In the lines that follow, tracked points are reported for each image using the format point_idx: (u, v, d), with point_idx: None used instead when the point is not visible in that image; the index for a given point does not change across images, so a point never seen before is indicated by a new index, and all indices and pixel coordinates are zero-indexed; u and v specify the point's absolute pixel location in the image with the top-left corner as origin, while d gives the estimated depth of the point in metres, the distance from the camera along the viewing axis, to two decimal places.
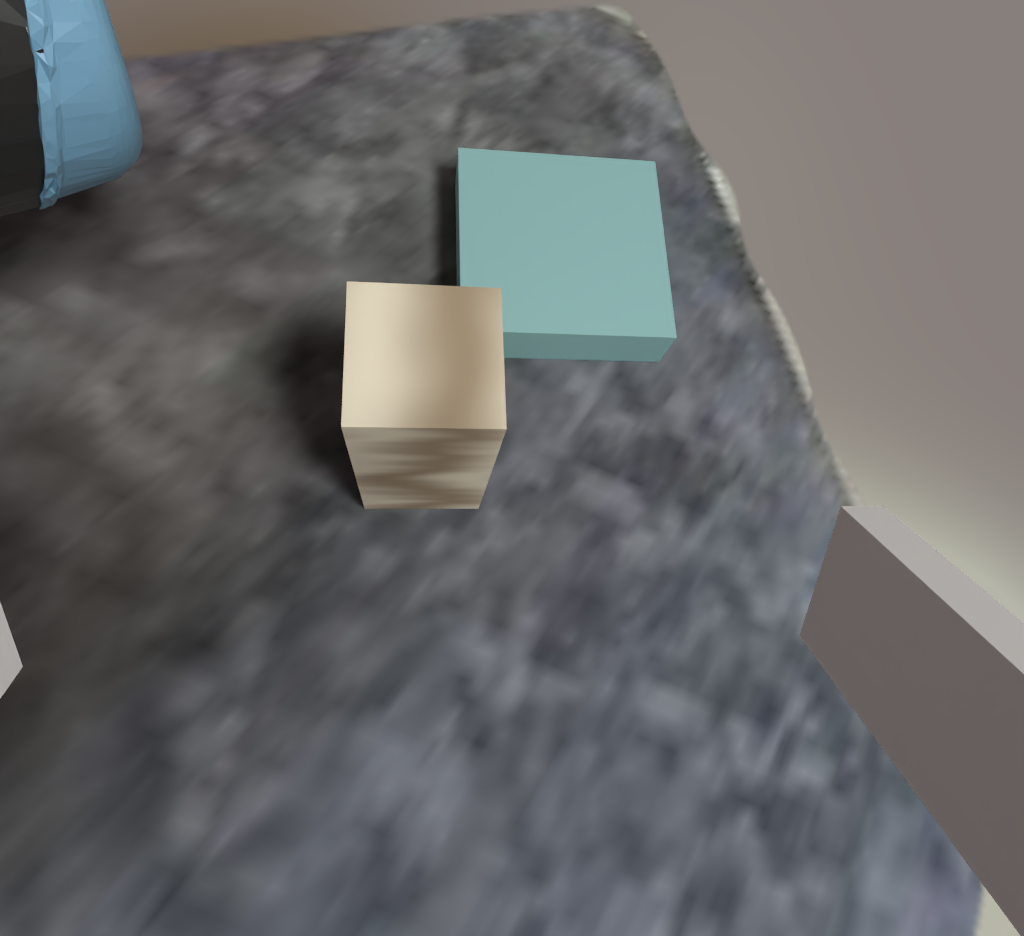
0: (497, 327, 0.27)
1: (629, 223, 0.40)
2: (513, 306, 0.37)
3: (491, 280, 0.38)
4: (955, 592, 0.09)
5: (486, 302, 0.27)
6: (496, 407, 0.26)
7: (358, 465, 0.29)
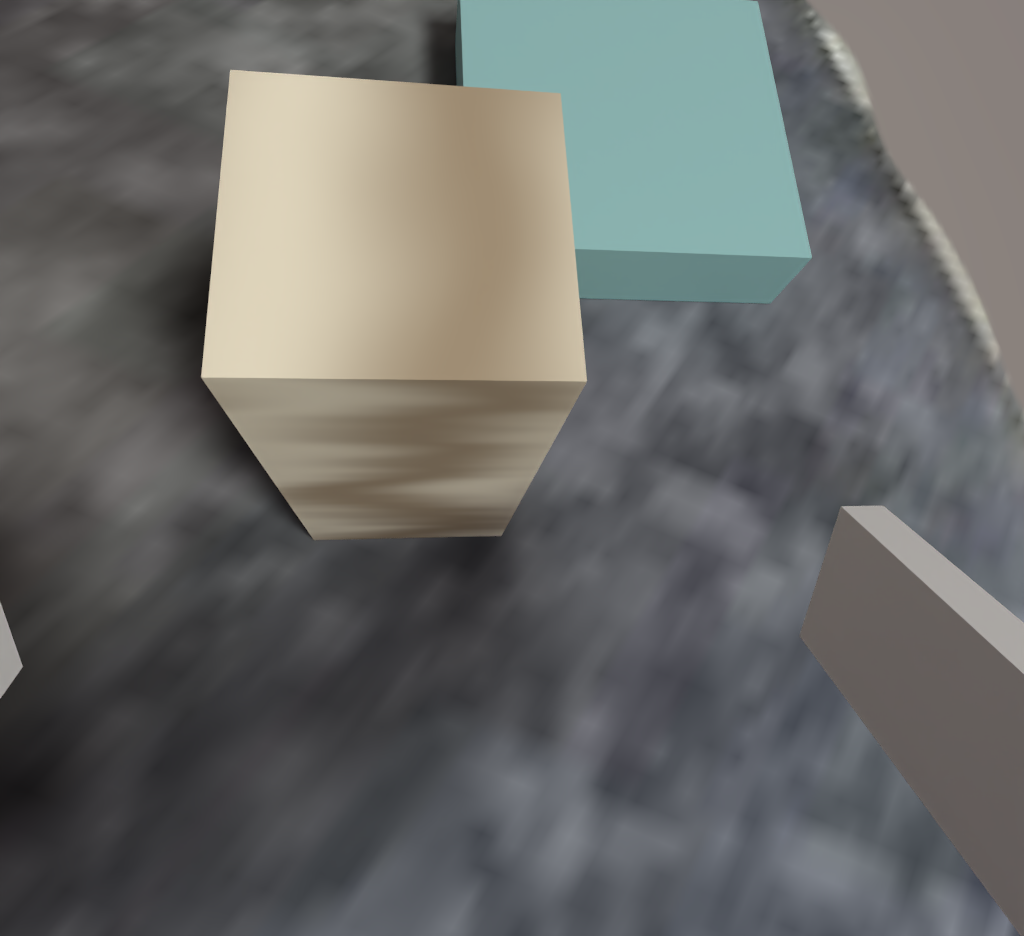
0: (556, 169, 0.12)
1: (726, 88, 0.26)
2: None
3: None
4: (955, 592, 0.09)
5: (531, 119, 0.13)
6: (561, 333, 0.11)
7: (276, 468, 0.15)
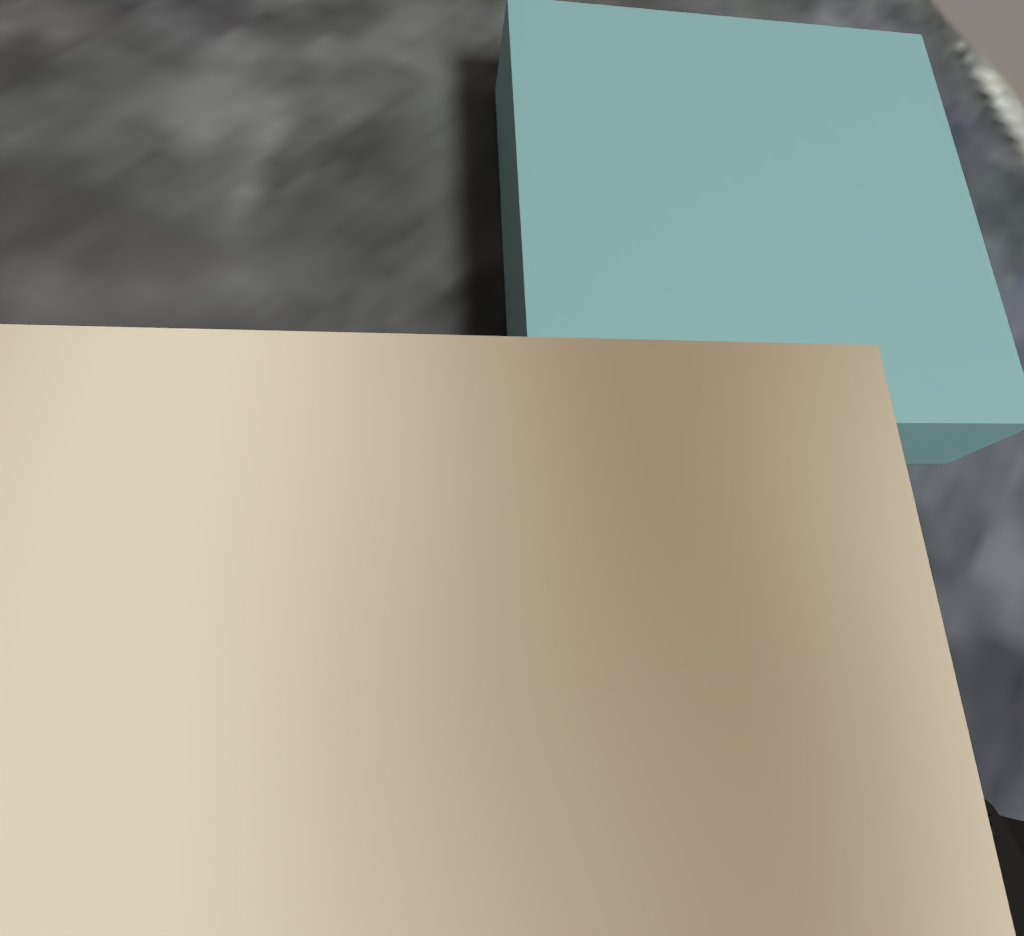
0: (904, 584, 0.05)
1: (891, 161, 0.18)
2: None
3: (598, 291, 0.16)
4: None
5: (818, 430, 0.05)
6: None
7: None
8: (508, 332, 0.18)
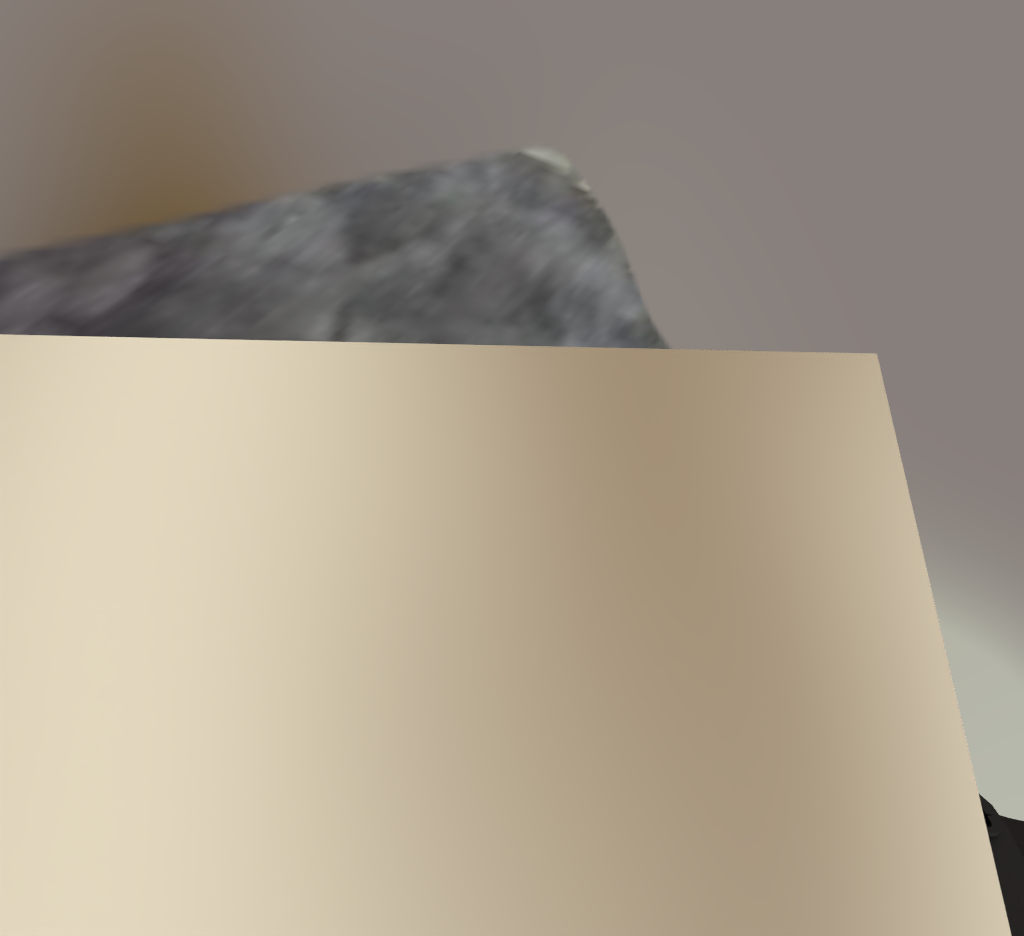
0: (903, 593, 0.05)
1: None
2: None
3: None
4: None
5: (816, 439, 0.05)
6: None
7: None
8: None
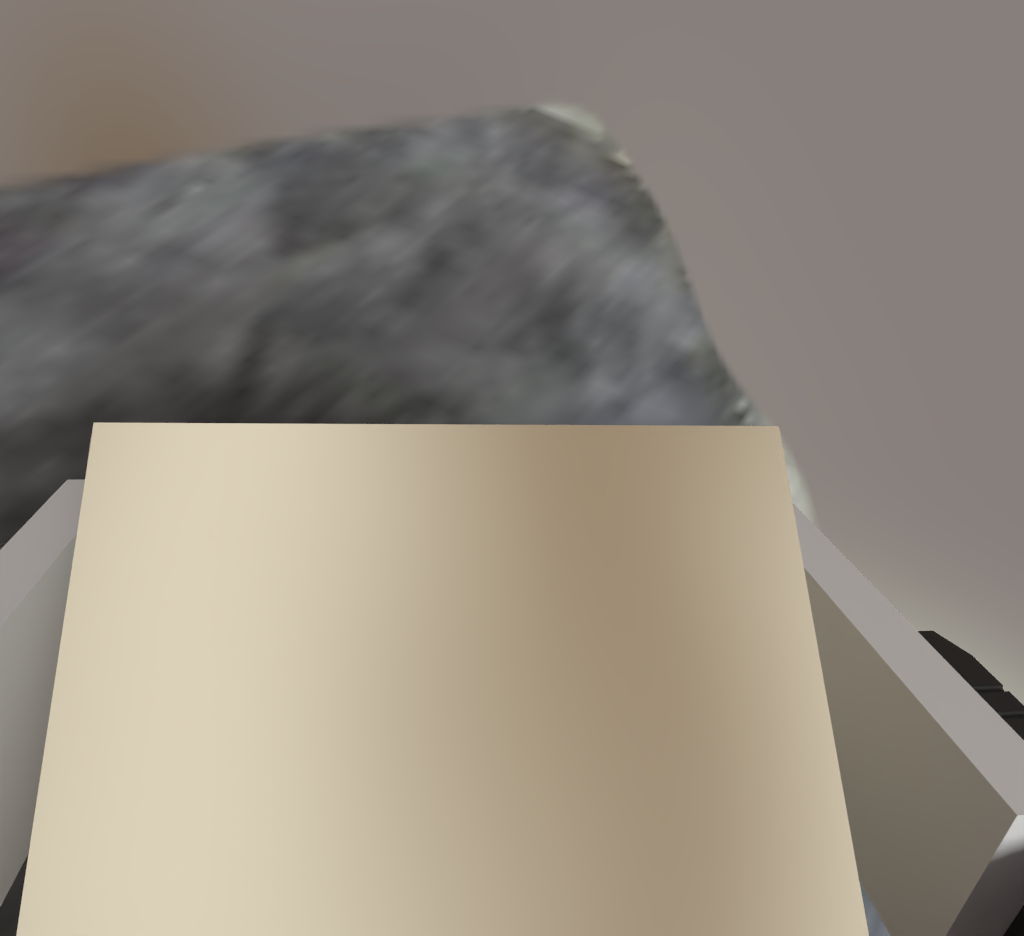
0: (789, 618, 0.06)
1: None
2: None
3: None
4: (808, 549, 0.10)
5: (727, 496, 0.06)
6: None
7: None
8: None
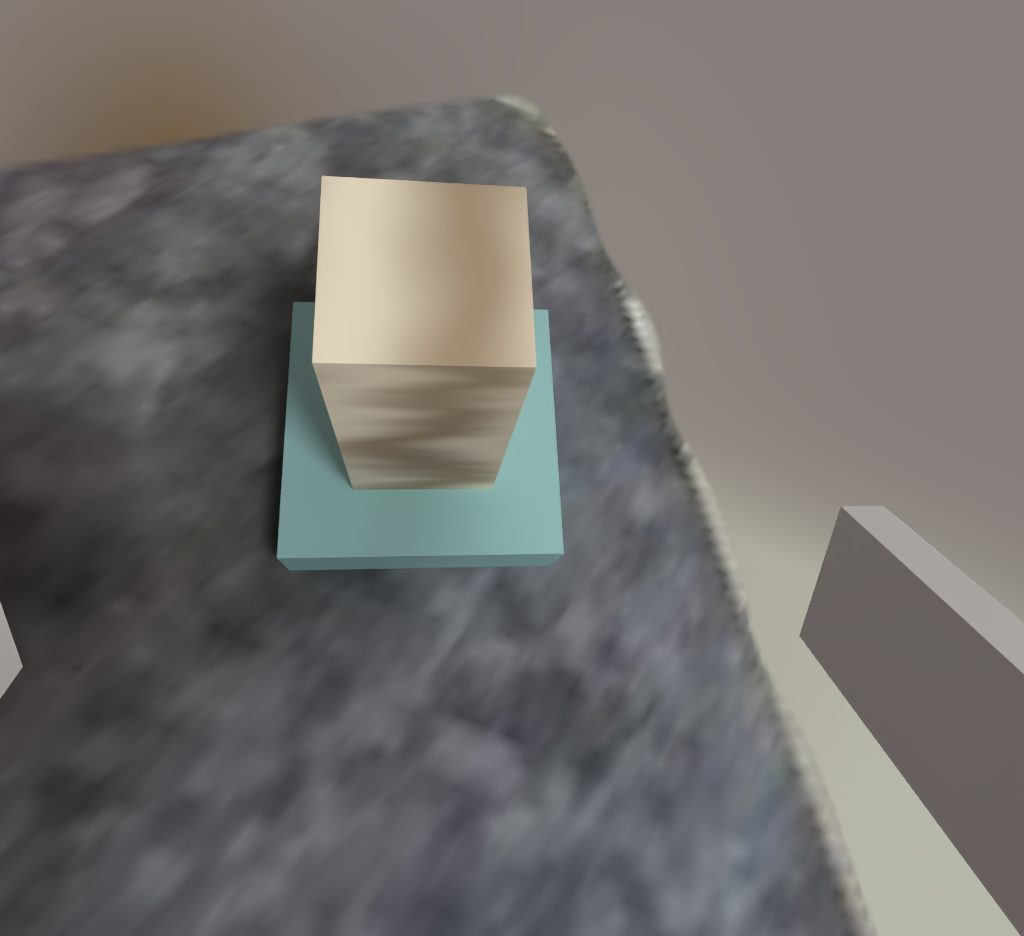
0: (522, 236, 0.20)
1: None
2: (349, 520, 0.29)
3: (322, 484, 0.29)
4: (955, 592, 0.09)
5: (507, 205, 0.20)
6: (522, 339, 0.19)
7: (340, 426, 0.22)
8: None
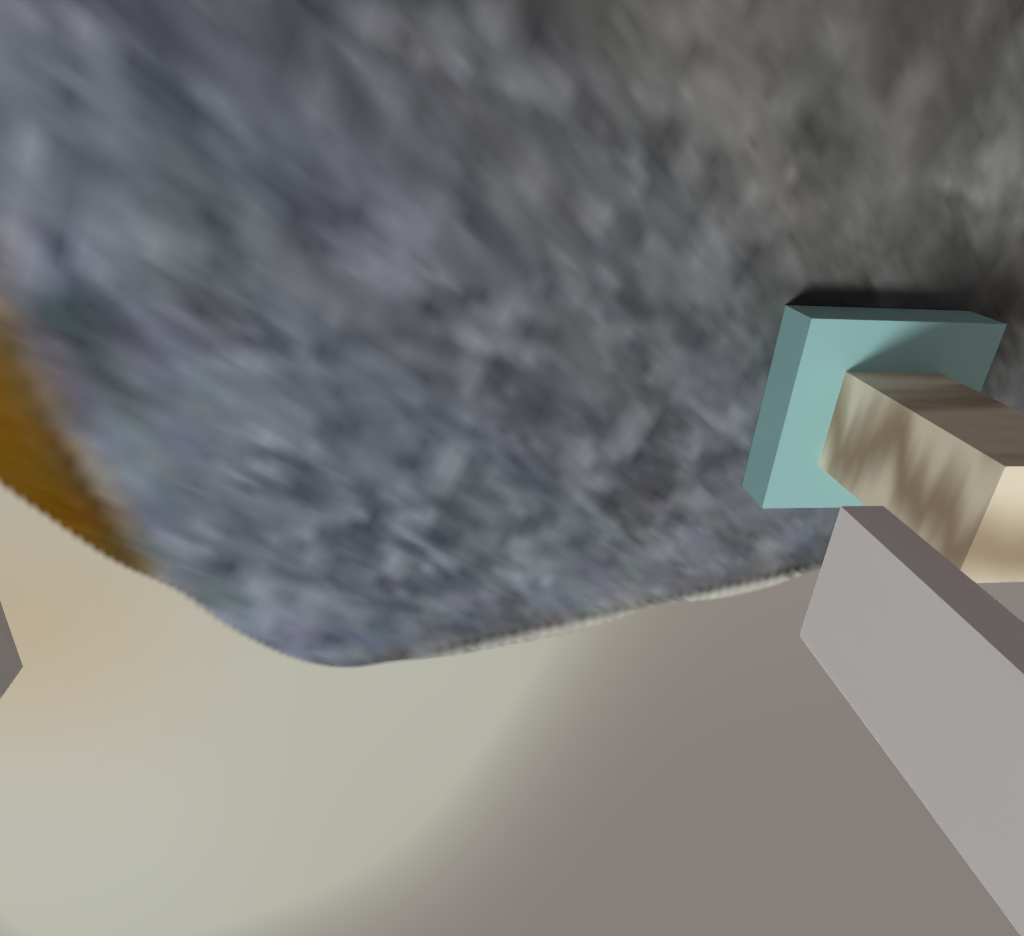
0: None
1: None
2: (824, 369, 0.39)
3: (855, 349, 0.39)
4: (955, 592, 0.09)
5: None
6: (974, 576, 0.31)
7: (930, 427, 0.33)
8: (844, 308, 0.40)
